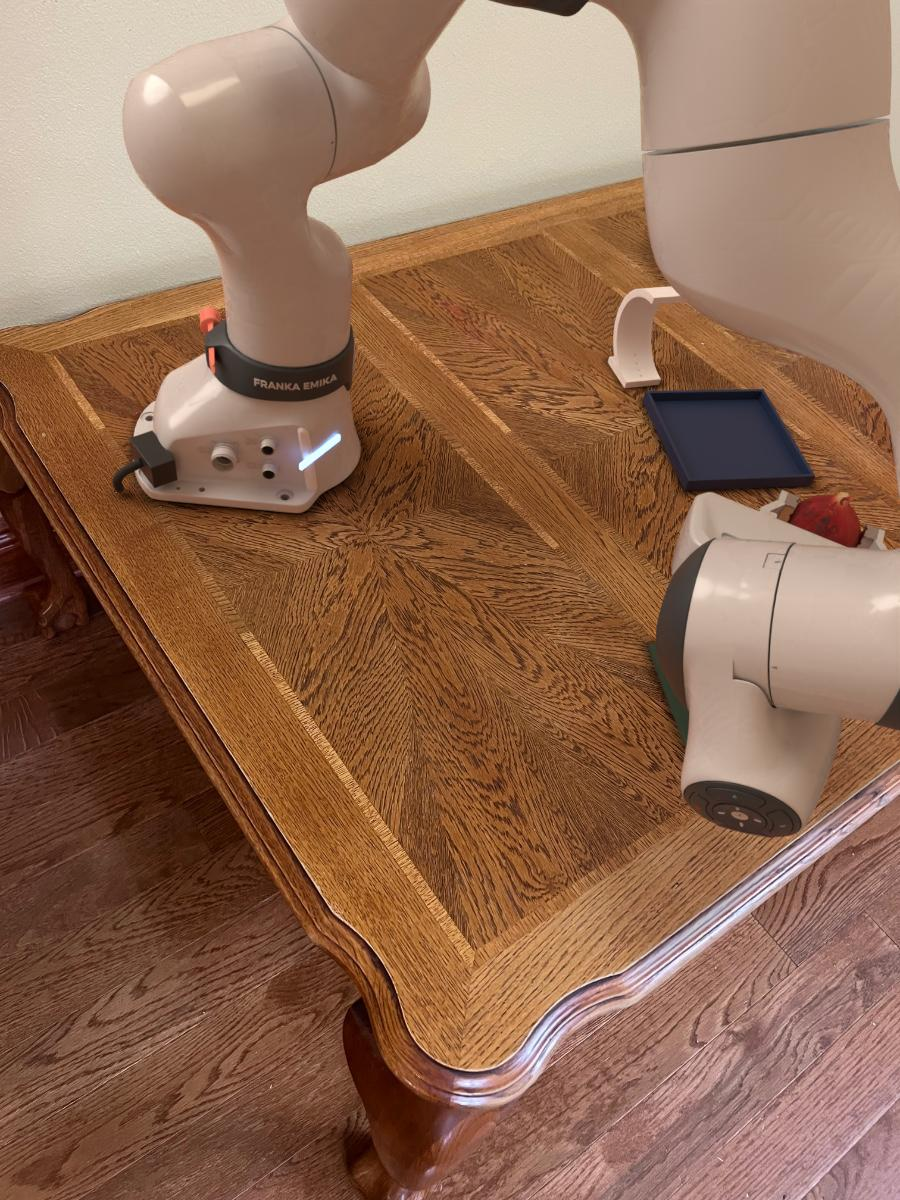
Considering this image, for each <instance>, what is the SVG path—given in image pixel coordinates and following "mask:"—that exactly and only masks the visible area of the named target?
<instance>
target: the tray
mask: <svg viewBox="0 0 900 1200" xmlns="http://www.w3.org/2000/svg"><path fill="white" fill-rule="evenodd" d="M642 403H643V406H644V408H645V410H646V412H647V414H648V416H649V419H650V421H651V422H652V423H651V424H652V425H653V427H654V429H655V432H656V434H657V435H658V438H659V440H660V442H661V443H662V446H663V449H664V450H665V453H666V455H667V457H668V459H669V461H670V464H671V466H672V468H673V469H674V472H675V474H676V476H677V478H678V480H679V483H680V485H681V487H682V489H683V492H692V491H693V492H694V491H695V492H697V491H717V490H721V491H722V490H746V489H747V490H748V489H771V488H795V487H811V485H812V483H813V481H814V480H815V478H816V474H815V473H814V471H813V470H812V468H811V466H810V464H809V462H808V461H807V459H806V458H805V456H804V455H803V453H802V451H801V449H800V447H799V446H798V444H797V443H796V441H795V439H794V438H793V436H792V434H791V432H790V430H789V429H788V428H787V426H786V424H785V423H784V421H783V418H782V417H781V416H780V414H779V412H778V411H777V410H776V409H777V408H775V406H774V404H773V402H772V400H771V399H770V398H769V395H768V394H767V392H766V391H765V389H764V388H751V389H750V388H749V389H748V388H745V389H742V388H741V389H740V388H737V389H736V388H735V389H683V390H682V389H680V390H679V389H674V390H670V389H669V390H645V393H644V396H643V398H642Z"/></svg>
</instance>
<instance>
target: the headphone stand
mask: <svg viewBox="0 0 900 1200" xmlns="http://www.w3.org/2000/svg"><path fill="white" fill-rule="evenodd" d="M678 303H679V304H680V303H687V302H686V301H685V300H684V299H683V298H682V297H681V296H680V295H679V294H678V293H677V292H676V291H675V290H674V289H673V288H672V286H671V285H670V286H669V285H668V286H657V287H642V288H635V289H633V290H631V291H629V292H628V293H626V295H625V296H624V298H622V301H621V303H620V304H619V307H618V309H617V313H616V316H615V320H614V325H613V334H612V335H613V337H612V348H613V349H612V350H613V355H611V356H609V357H608V360H607V364H608V366H609V367H610V368H611V370H612V371H613V373H614V375H615V376H616V378H617V379H618V381H619V383H620V384H621V385H622V387H623V388H624V389H631V388H639V387H640V388H641V387H650V386H651V387H652V386H658V385H660V382H661V380H662V378H661V376H660V375H659V373H658V370H657V367H656V365H655V362H654V357H653V349H652V333H653V326H654V325H653V324H654V320H655V316H656V314H657V311H658V309H659V307H660V305H667V304H678Z"/></svg>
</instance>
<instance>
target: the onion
mask: <svg viewBox="0 0 900 1200" xmlns="http://www.w3.org/2000/svg"><path fill="white" fill-rule="evenodd" d="M852 502H853V498H852V496H851V494H850V493H849V492H848V491H847V492H846V491H845V492H844V491H839V492H838V493H836V494H835V495H830V494H829V495H828V494H820V495H814V496H811V497H807V498H805V499H803V500H801V501H800V502H798V503H797V506H796V509H795V510H794V512H793V514H791V517H790V519H789V521H788V522H787V523H789V524H791V525H794V526H796V527H799V528H801V529H804V530H806V531H809V532H811V533H814V534H816V535H818V536H821V537H823V538H826V539H828V540H831V541H833V542H836V543H838V544H841V545H843V546H845V547H849V548H855V547H856V545H857V543H858V541H859V536H860V533H861V531H862V528H861V527H862V526H861V522H860V519H859V517H858V515H857V512H856V511H855V509H854V508H853V507H852V505H851V503H852Z"/></svg>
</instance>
